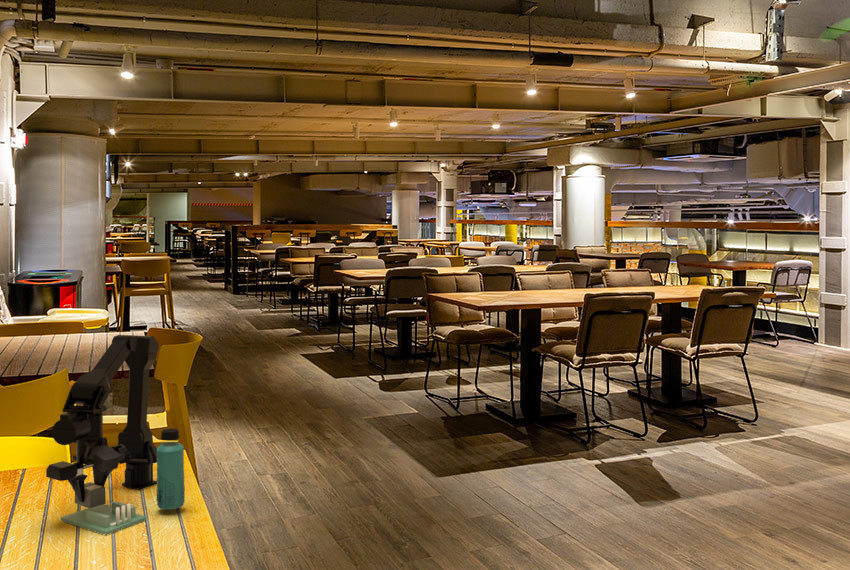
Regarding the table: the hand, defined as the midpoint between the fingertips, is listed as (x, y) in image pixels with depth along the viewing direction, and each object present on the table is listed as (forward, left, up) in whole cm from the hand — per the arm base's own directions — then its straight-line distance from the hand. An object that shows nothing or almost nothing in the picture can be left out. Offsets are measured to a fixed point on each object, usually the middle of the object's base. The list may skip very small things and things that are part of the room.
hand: (90, 499), depth 180 cm
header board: (0, +5, -4) cm, 6 cm away
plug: (0, 0, -1) cm, 1 cm away
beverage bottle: (-12, +13, -4) cm, 18 cm away
